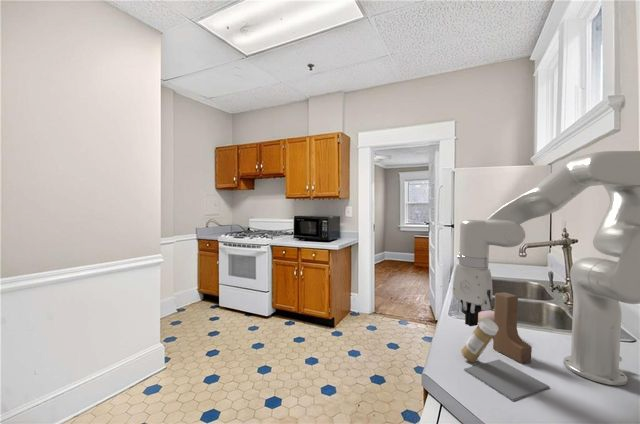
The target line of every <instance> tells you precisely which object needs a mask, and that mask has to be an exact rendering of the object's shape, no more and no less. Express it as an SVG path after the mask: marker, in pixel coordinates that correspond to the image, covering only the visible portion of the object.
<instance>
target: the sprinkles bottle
mask: <svg viewBox="0 0 640 424" xmlns="http://www.w3.org/2000/svg"><path fill="white" fill-rule="evenodd" d="M498 330H499V329H498V326H497V325H496V324H495V323H494V322H493V321H492V320H490V319H487V318H482V319H481V320H480V322H479V323H478V325H476V327H475V329H474V331H473V332H472V333H471V335H470V336H469V338H468V339H467V341H466V343H465V344H464V346H463V347H462V348H461V351H460V353H461V355H462V357H463V358H464V359H465V360H467V362H470V363H476V362H477V361H478V359H479V357H480V356H481V355H482V354H483V353H484V350H485V349H487V346H488V344H490V342H491V341H492V339H493V336H494V335H496V333H497V332H498Z"/></svg>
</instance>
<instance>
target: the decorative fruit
mask: <svg viewBox="0 0 640 424" xmlns="http://www.w3.org/2000/svg"><path fill="white" fill-rule="evenodd" d="M494 310H495V308H494V305H492V306H491V309H490V310H481V312H478V324H479V322H480V320H481V319H482V318H487V319H490V320H492V321H493V322H494Z"/></svg>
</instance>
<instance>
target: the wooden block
mask: <svg viewBox="0 0 640 424" xmlns="http://www.w3.org/2000/svg"><path fill="white" fill-rule="evenodd" d="M518 301H519V296H518V295H516V294H512V293H508V292H505V291H504V292H495V294H494V309H495V310H494V323H495V324H496V325H497V326H498V329H499V330H498V332H497V333H496V335H494V336H493V337H492V339H493V340H492V341H493V342H492V343H493V344H492V349H493V350H495V351H496V352H499V353H500V354H502V355H504V356H505V357H508V358H510V359H512V360H514V361H516V362H517V363H519V364H525V363H528V362H531V361H532V353H533V352H532V346H531V344H530V345H529V344H528V343H527V342H526V341H523V340H522V338H521V336H520V335H519V333H518V327H517V326H518V304H519V302H518Z"/></svg>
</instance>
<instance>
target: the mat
mask: <svg viewBox="0 0 640 424" xmlns="http://www.w3.org/2000/svg"><path fill="white" fill-rule="evenodd" d="M463 371H465V372H466V373H468V374H470V375H471V376H473V377H474V378H476V379H477V380H479V381H480V380H481V381H480V382H482V383H483V382H484V383H483V384H485V385H487V386H488V385H489V386H488V387H490V388H491V387H492V388H491V389H493V390H494V389H495V390H494V391H496V392H497V393H499V394H501V395H502V394H503V395H502V396H504V397H505V396H506V398H507V399H508V398H509V400H510V401H512V402H514V401H516V399H517V400H519V399H518V398H520V399H522V398H525V397H528V396H530V395H533V394H537V393H538V392H541V391H545V390H547V389H550V386H549V385H548V384H546V383H545V382H542V381H540V380H538V379H537V378H535V377H533V376H531V375H530V374H527V373H526V372H523V371H521V370H520V369H518V368H516V367H515V366H512V365H510V364H509V363H506V362H504V361H502V360H501V359H495V360H491V361H488V362H485V363H480V364H478V365H477V364H476V365H473V366H469V367H466V368H464V369H463ZM524 396H525V397H524ZM521 397H522V398H521ZM513 400H514V401H513Z"/></svg>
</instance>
